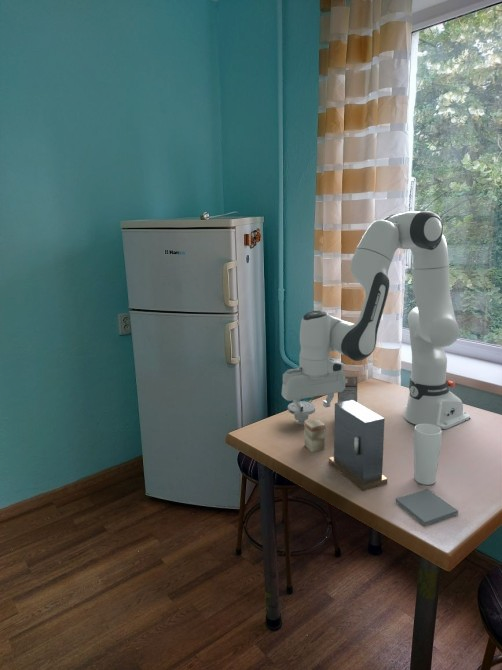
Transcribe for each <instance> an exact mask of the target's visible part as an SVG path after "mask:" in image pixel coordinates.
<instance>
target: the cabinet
mask: <svg viewBox="0 0 502 670" xmlns="http://www.w3.org/2000/svg"><path fill="white" fill-rule="evenodd" d="M385 422H386V421H385V417H383V416H381V415H380V414H378V413H377V412H374V411H373V410H371V409H369V408H368V407H366V406H364V405H362V404H361V403H359V402H358V401H357V402H356V401H354V400H350V401H345V402H340V403H338V402H336V403H334V422H333V423H334V425H333V426H334V428H333V431H334V435H333V437H334V438H333V439H334V440H333V456H330V457H329V458H328V463H329V464H330V465H331V466H332V467H334V468H335V470H337V471H338V472H339V473H341V475H343V476H344V477H345V478H346V479H348V480H349V481H350V482H351V483H352V484H354V486H356V487H357V488H358V489H359V490H360V491H362V492H364V491H367V490H370V489H373V488H378V487H380V486H384V485H388V478H387V477H386V476H385V475H383V465H384V463H383V461H384V440H385Z"/></svg>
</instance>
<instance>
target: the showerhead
mask: <svg viewBox="0 0 502 670" xmlns="http://www.w3.org/2000/svg"><path fill="white" fill-rule="evenodd" d="M312 402H313V400H312V399H310V400H309V401H306V400H305V401H303V400H302V401H301V400H300V402H298V403H299V405H301V406H303V412H299V413H298V412H297V411H296V405H295V403H294V402H293V401H292V402H291V403H289V404H288V405H287V411H288V413H290V414H292V415H294V416H293V417H294V419H295V420H297V422H298V425H303V426H304V422H306V421H308V420H309V417H310V415H312V414H314V413H315V412H316V405H315V404H314V403H312Z"/></svg>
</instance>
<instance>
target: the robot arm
mask: <svg viewBox="0 0 502 670" xmlns="http://www.w3.org/2000/svg"><path fill="white" fill-rule="evenodd" d="M398 249H400V250H402V249H403V250H410V251H411V253H412V256H411V257H412V258H411V266H412V267H411V268H412V269H411V271H412V274H411V276H412V277H411V278H412V292H413V297H414V299H415V302H416V303H415V304H416V306H415V307H413V308H412V309H410V311H409V313H408V315H407V323H408V327H409V329H408V330H409V339H410V340H409V341H410V349H411V374H410V377H409V382H408V383H409V384H408V390H409V393H408V398H407V403H406V407H405V411H404V414H403V418H404V420H406V421H407V422H409V423H411V424H413V425H415V426H416V425H418V424H432V425H435V426H438V427H439V428H440V429H441V430H447V429H449V428H452V427H454V426H456V425H457V426H458V425H459V424H461V423H463V422H465V420H466V421H468V420H470V419H471V415H470V414H469V413H468V412H467V411H466V410H464V403H463V401H462V399H460V398H459V396H457V395H456V394H454V393H453V392H451V391H450V388H453V389H454V388H455V387H456V383H455V381H452V380H447V368H448V357H447V355H446V351H445V348H447V347H449V346H451V345H454V343H455V342H457V340H458V338H459V336H460V327H459V326H460V325H459V324H458V322H457V319H456V315H455V311H454V305H453V301H452V296H451V289H450V257H449V251H448V245H447V240H446V237H445V235H444V224H443V221H442V219H441V217H440V216H439V214H437V213H435V212H433V211H429V210H423V211H422V210H421V211H406V212H403V213H398V214H391V215H388V216H386V217H384V218H383V219H378V220H374V221H373V222H372V223H370V225H369V226H368V228H367V229H366V231H365V232H364V234H363V235H362V237H361V239H360V241H359V243H358V245H357V246H356V249H355V252H354V253H353V256H352V258H351V262H350V273H351V274H352V277H353V278H354V279H355V281H356V282H357V283H358V284H360V286H362V288H363V289H364V292H365V294H364V295H365V297H364V301H363V305H362V307H361V311H360V314H359V317H358V320H357V322H355V323H354V322H350V321H346V320H343V319H340V318H338V317H335V316H332V315H331V314H329V312H328V311H326V310H311V311H309V312H306V313H305V314H304V315H303V316H302V318H301V322H300V326H299V327H300V328H299V345H300V351H299V362H298V363H299V365H298V366H299V367H297V368H290V369H289V368H288V369H287V370H286V371H284V373H283V374H282V384H281V385H282V386H281V396H282V398H284V399H285V400H286V401H287V402H291V401H292V403H293V402H294V403H295V405H296V411H297V412H298V413H299V412H303V406H301V405H299V403H298V402H300V401H301V400H302V399H308V398H313V397H321V396H325V395H327V396H326V399H324V400H322V401H323V404H322V406H323V407H325V408H330V407H331V402H332V401H333V399H334V396H335V394H336V393H337V394H338V392H343V390H344V389H345V377H346V374H345V372H344V370H345V364H344V363H342V362H341V361H338V360H336V359H334V358H331V357H330V354H331V352H333V351H334V352H336V353H338V354H341V355H343V356H345V357H347V358H348V359H350V360H352V361H355V362H360V361H364V360H366V359H367V358H369V357H370V356H371V355H372V354H373V352H374V351H375V348H376V345H377V337H378V330H379V328H380V323H381V319H382V315H383V312H384V309H385V306H386V302H387V298H388V294H389V290H390V279H389V277H388V275H389V269H390V265H391V263H392V262H393V260H394V256H395V253H396V251H397V250H398ZM449 387H450V388H449ZM469 418H470V419H469Z"/></svg>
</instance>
